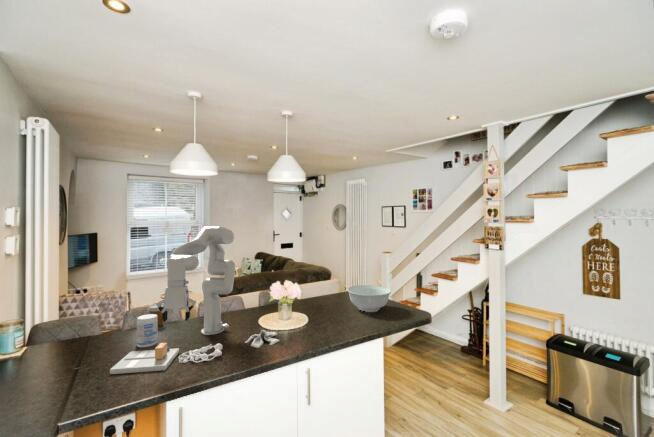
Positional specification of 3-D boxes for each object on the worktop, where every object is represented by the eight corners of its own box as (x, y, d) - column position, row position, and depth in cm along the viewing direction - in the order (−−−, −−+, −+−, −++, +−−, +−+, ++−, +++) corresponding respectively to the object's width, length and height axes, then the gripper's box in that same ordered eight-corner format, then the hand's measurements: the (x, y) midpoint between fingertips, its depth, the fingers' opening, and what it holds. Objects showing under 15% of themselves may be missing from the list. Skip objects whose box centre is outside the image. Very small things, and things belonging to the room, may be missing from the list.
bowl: (399, 308, 221) (399, 288, 221) (374, 319, 197) (374, 297, 198) (364, 300, 243) (364, 282, 243) (337, 309, 220) (337, 289, 220)
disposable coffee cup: (166, 325, 187) (166, 306, 187) (148, 328, 181) (148, 309, 181) (164, 321, 195) (164, 303, 195) (147, 324, 189) (147, 305, 189)
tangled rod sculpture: (175, 370, 133) (174, 361, 133) (181, 354, 147) (180, 346, 147) (221, 363, 139) (221, 354, 138) (222, 348, 153) (222, 340, 152)
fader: (167, 353, 142) (167, 342, 142) (162, 358, 136) (162, 347, 136) (160, 353, 142) (160, 342, 142) (154, 359, 136) (155, 348, 136)
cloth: (274, 332, 177) (274, 321, 177) (285, 343, 161) (285, 331, 161) (235, 339, 166) (235, 328, 166) (244, 352, 150) (244, 340, 150)
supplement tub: (146, 349, 152) (146, 320, 152) (131, 347, 155) (132, 318, 155) (161, 341, 162) (161, 314, 162) (148, 339, 164) (148, 313, 165)
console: (179, 352, 149) (179, 345, 149) (165, 370, 131) (165, 362, 131) (130, 355, 145) (130, 348, 145) (109, 374, 127) (109, 365, 127)
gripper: (198, 281, 146) (197, 316, 145) (160, 282, 143) (159, 318, 143) (193, 284, 138) (193, 322, 138) (153, 285, 136) (153, 323, 135)
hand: (176, 320), depth 140 cm, fingers open, 9 cm apart
